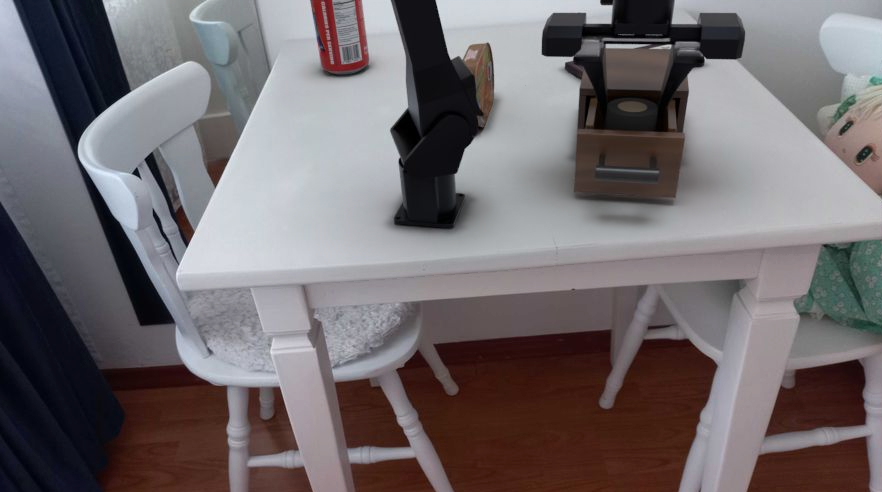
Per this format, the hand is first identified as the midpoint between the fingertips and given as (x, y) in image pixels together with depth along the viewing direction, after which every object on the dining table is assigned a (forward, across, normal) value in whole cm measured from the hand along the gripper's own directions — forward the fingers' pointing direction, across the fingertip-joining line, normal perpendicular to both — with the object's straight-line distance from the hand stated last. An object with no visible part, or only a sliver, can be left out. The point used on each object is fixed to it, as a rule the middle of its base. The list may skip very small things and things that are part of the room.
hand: (631, 117), depth 74 cm
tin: (+8, +20, -16) cm, 27 cm away
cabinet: (+7, 0, -11) cm, 13 cm away
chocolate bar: (+7, 0, -35) cm, 36 cm away
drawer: (+6, 0, +1) cm, 7 cm away
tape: (+2, 0, +1) cm, 2 cm away
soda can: (+8, +45, -32) cm, 56 cm away
